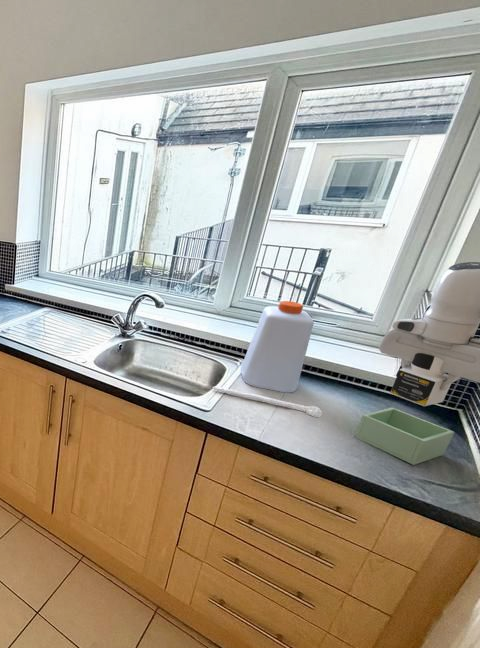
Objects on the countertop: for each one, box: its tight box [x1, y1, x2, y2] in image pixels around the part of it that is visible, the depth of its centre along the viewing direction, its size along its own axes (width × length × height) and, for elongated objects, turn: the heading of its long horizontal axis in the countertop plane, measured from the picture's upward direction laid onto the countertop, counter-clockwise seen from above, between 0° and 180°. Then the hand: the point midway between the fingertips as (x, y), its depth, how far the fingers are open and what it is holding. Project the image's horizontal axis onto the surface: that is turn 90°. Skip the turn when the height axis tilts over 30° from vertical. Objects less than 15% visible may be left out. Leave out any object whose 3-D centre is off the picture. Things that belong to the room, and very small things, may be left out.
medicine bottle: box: [389, 353, 452, 407], centre depth 103 cm, size 7×7×12 cm
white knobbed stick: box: [212, 386, 323, 418], centre depth 128 cm, size 28×4×3 cm, turn 58°
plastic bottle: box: [240, 300, 315, 394], centre depth 137 cm, size 15×15×28 cm
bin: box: [354, 407, 455, 466], centre depth 108 cm, size 13×13×7 cm
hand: (423, 383), depth 104 cm, fingers closed on medicine bottle, 5 cm apart
